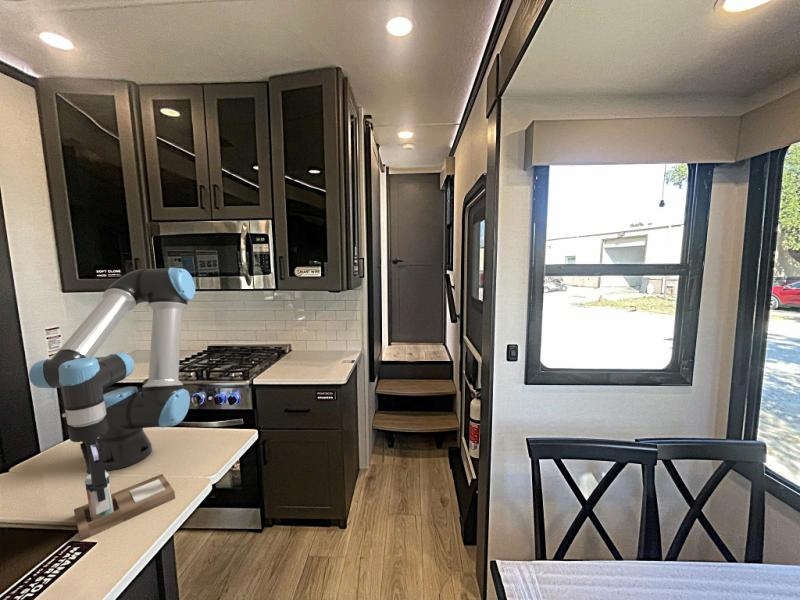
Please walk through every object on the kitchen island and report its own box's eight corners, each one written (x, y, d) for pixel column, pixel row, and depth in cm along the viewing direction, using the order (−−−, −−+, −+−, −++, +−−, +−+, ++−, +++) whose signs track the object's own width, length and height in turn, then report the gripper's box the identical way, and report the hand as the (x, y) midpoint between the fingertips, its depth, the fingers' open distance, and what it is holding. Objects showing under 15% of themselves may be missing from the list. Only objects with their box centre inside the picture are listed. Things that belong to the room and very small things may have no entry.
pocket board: (75, 517, 96) (73, 508, 96) (163, 480, 110) (162, 473, 110) (80, 540, 88) (79, 531, 87) (175, 498, 102) (174, 490, 102)
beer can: (100, 511, 98) (93, 470, 96) (119, 510, 98) (112, 468, 96) (86, 525, 93) (79, 481, 91) (106, 523, 93) (99, 479, 92)
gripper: (63, 415, 95) (78, 498, 98) (71, 438, 83) (87, 531, 86) (100, 406, 101) (113, 484, 104) (112, 425, 88) (126, 514, 91)
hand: (101, 505), depth 95 cm, fingers closed on beer can, 5 cm apart
